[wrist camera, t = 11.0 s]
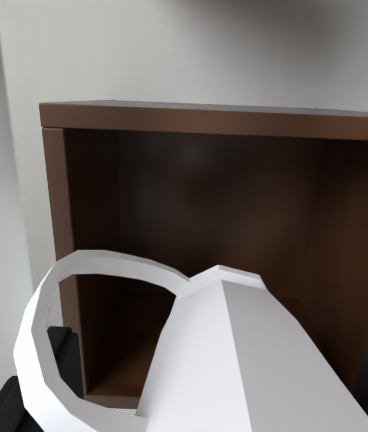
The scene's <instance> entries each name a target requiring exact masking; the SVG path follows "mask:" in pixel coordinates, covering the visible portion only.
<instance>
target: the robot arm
mask: <svg viewBox="0 0 368 432" xmlns="http://www.w3.org/2000/svg"><path fill="white" fill-rule="evenodd" d="M47 334H48V337H49V341H50V344H51V347H52V351H53V354H54V358H55V361H56V365H57V368H58V371H59V375H60V378H61V379H62V380H63V381H64V382H65V383H66V384H67V386H68V387H69V388H70V389H71V390H72V391H73V392H74V394H75V395H76V396H77V397H78V398H80V399H83V400H84V391H83V380H82V369H81V358H80V347H79V337H78V333H73V332H72V328H71V327H55V326H51V327H49V328H48V329H47ZM353 397H354V399H355V400H356V401H357V403H358V404H359V405H360V407H361V408H362V409H363V411H364V412H365V413H366V414H367V416H368V347H367V349H366V352H365V356H364V359H363V363H362V366H361V369H360V373H359V376H358V380H357V383H356V386H355V390H354V393H353ZM0 432H45V431H44V430H43V429H42V428H41V427H40V425H39V424H38V423H37V422H36V421H35V419H34V418H33V417H32V416H31V414H30V413H29V412H28V411H27V410H26V408H25V407H24V403H23V398H22V393H21V389H20V384H19V379H18V376H12V377H11V378H9V379H8V380H7V382H6V383H5V385H4V386H3V388H2V389H1V391H0Z"/></svg>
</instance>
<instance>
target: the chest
mask: <svg viewBox="0 0 368 432" xmlns="http://www.w3.org/2000/svg"><path fill="white" fill-rule="evenodd" d="M39 110H40V119H41V126H42V127H43V128H42V135H43V144H44V153H45V162H46V171H47V180H48V189H49V199H50V208H51V217H52V226H53V235H54V244H55V253H56V261H58V260H60V259H62V258H64V257H66V256H68V255H69V254H71V253H73V252H75V251H77V250H107V251H113V252H118V253H123V254H128V255H132V256H137V257H141V258H145V259H149V260H153V261H155V262H158V263H161V264H163V265H166V266H169V267H171V268H174V269H176V270H178V271H179V272H181V273H182V274H184V275H185V276H187V277H188V278H191V277H193V276H195V275H197V274H200V273H202V272H204V271H206V270H208V269H210V268H212V267H214V266H216V265H222V266H226V267H230V268H234V269H238V270H242V271H246V272H250V273H254V274H257V275H260V277H261V279H262V281H263V282H264V284H265V286H266V288H267V290H268V291H269V292H270V293H271V294H272V295H273V296H274V297H275V298H276V299H277V300H278V301H279V302H280V303H281V304H282V305H283V306H284V308H285V309H286V310H287V311H288V312H289V313H290V314H291V315H292V316H293V317H294V318H295V319H296V320H297V321H298V322H299V323H300V325H301V326H302V328H303V329H304V330H305V332H306V333H307V335H308V336H309V337H310V339H311V340H312V341H313V343H314V344H315V346H316V347H317V348H318V350H319V351H320V353H321V354H322V355H323V357H324V358H325V360H326V361H327V362H328V364H329V365H330V366H331V368H332V369H333V371H334V372H335V373H336V375H337V376H338V378H339V379H340V380H341V382H342V383H343V384H344V386H345V387H346V388H347V389H348V391H349V392H350V393H351V395H352V396H353V393H354V390H355V386H356V383H357V380H358V376H359V373H360V369H361V366H362V363H363V359H364V356H365V352H366V349H367V347H368V112H358V111H346V110H330V109H307V108H283V107H259V106H236V105H212V104H188V103H164V102H141V101H117V100H96V101H72V102H48V103H39ZM59 290H60V299H61V308H62V317H63V327H71V328H72V332H73V333H78V337H79V347H80V358H81V369H82V380H83V391H84V400H86V401H88V402H91V403H94V404H97V405H100V406H103V407H106V408H121V409H137V408H138V405H139V401H140V398H141V395H142V392H143V388H144V385H145V382H146V379H147V376H148V372H149V369H150V366H151V363H152V360H153V357H154V353H155V350H156V347H157V344H158V341H159V338H160V334H161V332H162V330H163V328H164V326H165V324H166V322H167V320H168V318H169V316H170V314H171V311H172V307H173V304H174V301H175V298H176V295H175V294H174V293H172V292H171V291H169V290H168V289H166V288H165V287H162V286H159V285H156V284H153V283H150V282H147V281H144V280H140V279H134V278H128V277H121V276H114V275H106V274H72V275H70V276H68V277H67V278H65V279H63V280H62V281H60V282H59Z"/></svg>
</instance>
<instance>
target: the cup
mask: <svg viewBox="0 0 368 432" xmlns="http://www.w3.org/2000/svg"><path fill="white" fill-rule="evenodd" d="M72 274H106V275H114V276H121V277H128V278H134V279H140V280H144V281H147V282H150V283H153V284H156V285H159V286H162V287H165V288H166V289H168V290H169V291H171V292H172V293H174V294H175V295H176V298H175V301H174V304H173V307H172V311H171V314H170V316H169V318H168V320H167V322H166V324H165V326H164V328H163V330H162V332H161V334H160V338H159V341H158V344H157V347H156V350H155V353H154V357H153V360H152V363H151V366H150V369H149V372H148V376H147V379H146V382H145V385H144V388H143V392H142V395H141V398H140V401H139V405H138V408H137V411H136V414H135V416H134V415H129V414H124V413H121V412H118V411H115V410H112V409H109V408H106V407H103V406H100V405H97V404H94V403H91V402H88V401H86V400H83V399H80V398H78V397H77V396H76V395H75V394H74V392H73V391H72V390H71V389H70V388H69V387H68V386H67V384H66V383H65V382H64V381H63V380H62V379H61V378H60V375H59V371H58V368H57V365H56V361H55V358H54V354H53V351H52V347H51V344H50V341H49V337H48V334H47V330H46V322H47V318H48V313H49V308H50V304H51V299H52V295H53V291H54V289H55V287H56V285H57V283H58V282H60V281H62V280H63V279H65V278H67V277H68V276H70V275H72ZM13 356H14V360H15V365H16V369H17V374H18V379H19V384H20V389H21V393H22V398H23V403H24V407H25V408H26V410H27V411H28V412H29V413H30V414H31V416H32V417H33V418H34V419H35V421H36V422H37V423H38V424H39V425H40V427H41V428H42V429H43V430H44V431H45V432H368V416H367V414H366V413H365V412H364V411H363V409H362V408H361V407H360V405H359V404H358V403H357V401H356V400H355V399H354V397H353V396H352V395H351V393H350V392H349V391H348V389H347V388H346V387H345V386H344V384H343V383H342V382H341V380H340V379H339V378H338V376H337V375H336V373H335V372H334V371H333V369H332V368H331V366H330V365H329V364H328V362H327V361H326V360H325V358H324V357H323V355H322V354H321V353H320V351H319V350H318V348H317V347H316V346H315V344H314V343H313V341H312V340H311V339H310V337H309V336H308V335H307V333H306V332H305V330H304V329H303V328H302V326H301V325H300V323H299V322H298V321H297V320H296V319H295V318H294V317H293V316H292V315H291V314H290V313H289V312H288V311H287V310H286V309H285V308H284V306H283V305H282V304H281V303H280V302H279V301H278V300H277V299H276V298H275V297H274V296H273V295H272V294H271V293H270V292H269V291H268V290H267V288H266V286H265V284H264V282H263V281H262V279H261V277H260V275H257V274H254V273H250V272H246V271H242V270H238V269H234V268H230V267H226V266H222V265H216V266H214V267H212V268H210V269H208V270H206V271H204V272H202V273H200V274H197V275H195V276H193V277H191V278H188V277H187V276H185V275H184V274H182V273H181V272H179V271H178V270H176V269H174V268H171V267H169V266H166V265H163V264H161V263H158V262H155V261H153V260H149V259H145V258H141V257H137V256H132V255H128V254H123V253H118V252H113V251H107V250H77V251H75V252H73V253H71V254H69V255H68V256H66V257H64V258H62V259H60V260H58V261H56V262H55V263H54V265H53V266H52V267H51V269H50V270H49V272H48V273H47V274H46V276H45V277H44V278H43V280H42V281H41V283H40V285H39V286H38V288H37V290H36V291H35V293H34V295H33V296H32V298H31V300H30V301H29V303H28V305H27V307H26V309H25V312H24V316H23V319H22V323H21V326H20V330H19V333H18V337H17V340H16V344H15V347H14V351H13Z"/></svg>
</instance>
